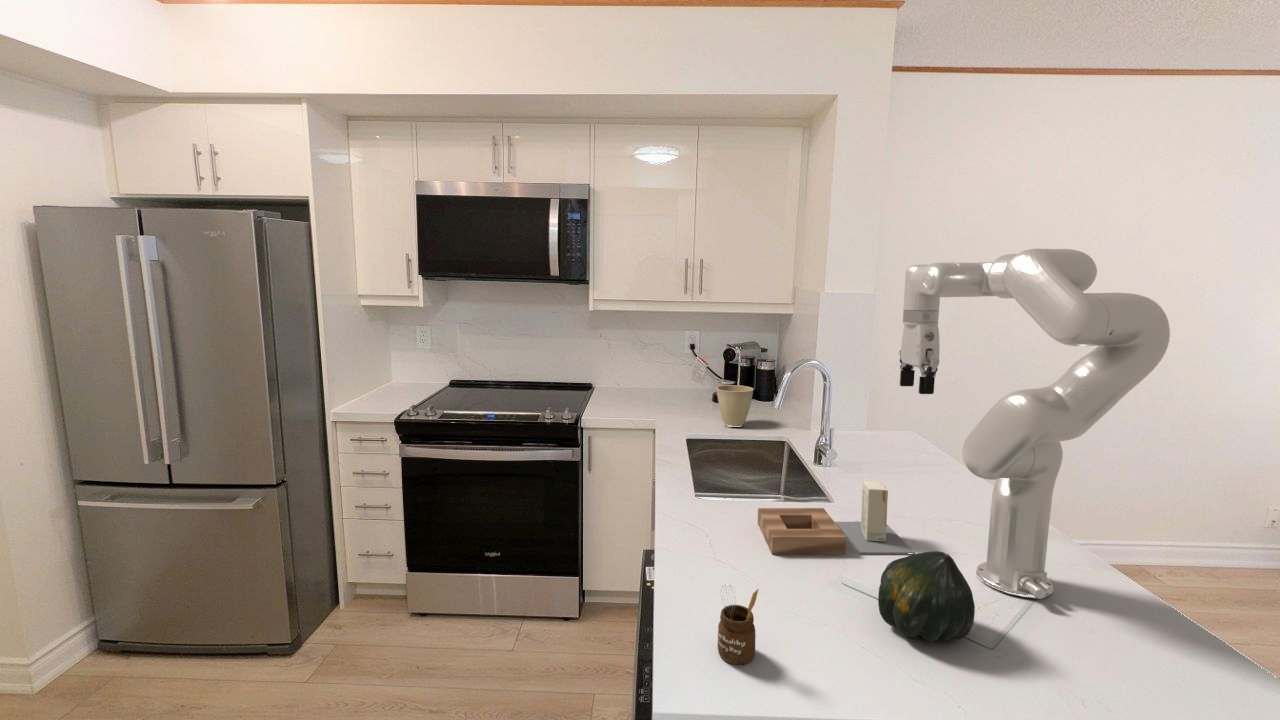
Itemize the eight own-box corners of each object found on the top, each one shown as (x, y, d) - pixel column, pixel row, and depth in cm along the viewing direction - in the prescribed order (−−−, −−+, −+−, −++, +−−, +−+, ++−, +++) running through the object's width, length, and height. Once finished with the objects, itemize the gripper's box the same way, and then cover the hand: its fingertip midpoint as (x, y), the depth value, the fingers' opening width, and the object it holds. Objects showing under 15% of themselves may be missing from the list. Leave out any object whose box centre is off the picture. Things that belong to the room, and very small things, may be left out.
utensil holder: (729, 637, 95) (730, 570, 93) (763, 653, 91) (765, 583, 89) (710, 655, 91) (711, 585, 89) (745, 672, 87) (746, 599, 85)
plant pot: (752, 431, 226) (753, 392, 224) (715, 429, 228) (715, 390, 226) (752, 422, 240) (753, 385, 238) (716, 421, 243) (717, 384, 241)
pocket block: (845, 554, 124) (846, 537, 123) (772, 554, 124) (772, 537, 123) (822, 523, 140) (823, 508, 139) (757, 523, 140) (758, 508, 139)
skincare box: (886, 542, 128) (889, 490, 126) (866, 541, 129) (868, 489, 127) (879, 530, 134) (881, 480, 133) (859, 529, 135) (862, 479, 133)
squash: (849, 578, 103) (897, 543, 93) (912, 566, 109) (964, 532, 98) (888, 662, 95) (946, 634, 84) (955, 645, 100) (1017, 617, 89)
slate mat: (914, 554, 124) (914, 552, 124) (859, 554, 124) (859, 552, 124) (884, 523, 139) (884, 521, 139) (835, 523, 140) (835, 521, 140)
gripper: (956, 320, 124) (951, 397, 127) (919, 315, 142) (914, 383, 144) (922, 320, 124) (917, 397, 127) (888, 315, 142) (885, 383, 144)
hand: (916, 389), depth 135 cm, fingers open, 9 cm apart
